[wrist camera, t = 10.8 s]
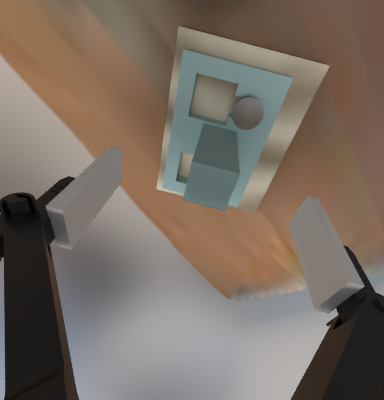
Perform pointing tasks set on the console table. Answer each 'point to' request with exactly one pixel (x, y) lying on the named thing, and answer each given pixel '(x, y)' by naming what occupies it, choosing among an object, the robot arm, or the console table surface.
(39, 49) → the console table surface
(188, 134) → the panel
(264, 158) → the boss board
